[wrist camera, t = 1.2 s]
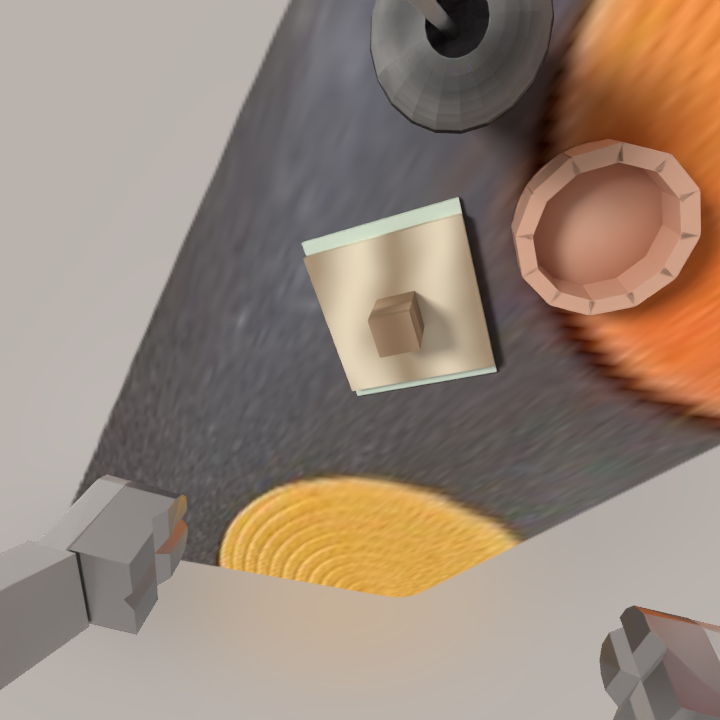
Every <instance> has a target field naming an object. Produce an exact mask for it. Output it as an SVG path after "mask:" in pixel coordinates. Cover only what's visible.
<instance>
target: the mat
mask: <svg viewBox="0 0 720 720" xmlns="http://www.w3.org/2000/svg"><path fill="white" fill-rule="evenodd" d="M461 212H462V210H461V205H460V201H459V197H456V198H453V199H449V200H446V201H442V202H439V203H435V204H432V205H428V206H425V207H422V208H418V209H415V210H411V211H408V212H404V213H401V214H398V215H394V216H391V217H387V218H384V219H380V220H377V221H373V222H370V223H367V224H363V225H360V226H356V227H353V228H349V229H346V230H343V231H339V232H336V233H332V234H329V235H325V236H322V237H319V238H315V239H312V240H308V241H305V242H303V243H302V245H303V248H304V251H305V254H306V256H307V255H311V254H314V253H318V252H321V251H325V250H329V249H332V248H336V247H339V246H343V245H346V244H350V243H354V242H357V241H361V240H364V239H368V238H371V237H375V236H379V235H382V234H386V233H389V232H393V231H396V230H400V229H403V228H407V227H411V226H414V225H418V224H421V223H425V222H428V221H432V220H436V219H439V218H443V217H446V216H450V215H453V214H457V213H461ZM462 216H463V214H462ZM463 220H464V219H463ZM464 225H465V224H464ZM465 229H466V228H465ZM466 234H467V233H466ZM467 238H468V237H467ZM468 243H469V242H468ZM469 248H470V246H469ZM470 252H471V251H470ZM471 257H472V256H471ZM472 261H473V260H472ZM473 266H474V265H473ZM474 270H475V269H474ZM475 275H476V274H475ZM476 280H477V278H476ZM477 284H478V283H477ZM478 289H479V287H478ZM479 293H480V292H479ZM480 298H481V297H480ZM481 302H482V301H481ZM482 307H483V306H482ZM483 311H484V310H483ZM484 316H485V315H484ZM485 321H486V319H485ZM486 325H487V324H486ZM487 330H488V329H487ZM488 334H489V333H488ZM489 339H490V338H489ZM490 343H491V342H490ZM491 348H492V347H491ZM492 353H493V351H492ZM493 357H494V356H493ZM494 362H495V361H494ZM492 372H497V370H496V365H495V366H491V367H486V368H480V369H475V370H469V371H463V372H458V373H452V374H446V375H441V376H435V377H429V378H424V379H418V380H413V381H407V382H401V383H396V384H390V385H384V386H379V387H373V388H367V389H362V390H356V392H357V395H358V396H360V395H366V394H371V393H377V392H383V391H389V390H394V389H400V388H406V387H412V386H417V385H423V384H429V383H435V382H440V381H446V380H452V379H458V378H464V377H469V376H475V375H481V374H487V373H492Z"/></svg>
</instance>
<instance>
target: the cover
mask: <svg viewBox="0 0 720 720" xmlns="http://www.w3.org/2000/svg"><path fill="white" fill-rule="evenodd" d="M304 262H305V265H306V267H307V270H308V273H309V276H310V278H311V281H312V284H313V286H314V289H315V292H316V294H317V297H318V300H319V302H320V305H321V308H322V311H323V313H324V316H325V319H326V321H327V324H328V327H329V329H330V332H331V335H332V337H333V340H334V343H335V346H336V348H337V351H338V354H339V356H340V359H341V362H342V364H343V367H344V370H345V373H346V375H347V378H348V381H349V383H350V386H351V389H352V391H356V390H362V389H367V388H373V387H379V386H384V385H390V384H396V383H401V382H407V381H413V380H418V379H424V378H429V377H435V376H441V375H446V374H452V373H458V372H463V371H469V370H475V369H480V368H486V367H491V366H495V362H494V357H493V353H492V348H491V343H490V339H489V334H488V330H487V325H486V321H485V316H484V311H483V307H482V302H481V298H480V293H479V289H478V284H477V280H476V275H475V270H474V266H473V261H472V257H471V252H470V248H469V243H468V238H467V234H466V229H465V225H464V220H463V216H462V212H461V213H457V214H453V215H450V216H446V217H443V218H439V219H436V220H432V221H428V222H425V223H421V224H418V225H414V226H411V227H407V228H403V229H400V230H396V231H393V232H389V233H386V234H382V235H379V236H375V237H371V238H368V239H364V240H361V241H357V242H354V243H350V244H346V245H343V246H339V247H336V248H332V249H329V250H325V251H321V252H318V253H314V254H311V255H307V256H306V257H305V258H304Z"/></svg>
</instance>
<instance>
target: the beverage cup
mask: <svg viewBox="0 0 720 720" xmlns="http://www.w3.org/2000/svg"><path fill="white" fill-rule="evenodd" d="M553 21H554V11H553V1H552V0H376V3H375V6H374V10H373V13H372V17H371V41H370V52H371V56H372V60H373V64H374V69H375V73H376V77H377V81H378V83H379V84H380V86H381V88H382V90H383V91H384V93H385V95H386V96H387V98H388V100H389V102H390V103H391V105H392V106H393V107H394V108H395V109H396V110H397V111H399V112H400V113H401V114H402V115H403V116H404V117H405V118H406V119H407V120H409V121H410V122H411V123H413V124H415V125H417V126H420V127H422V128H425V129H427V130H430V131H432V132H435V133H457V134H462V133H465V132H468V131H472V130H475V129H478V128H481V127H485V126H488V125H489V124H491V123H492V122H494V121H495V120H497V119H498V118H500V117H501V116H503V115H504V114H505V113H507V112H508V111H510V110H511V109H513V107H514V106H515V105H516V104H517V103H518V101H519V100H520V99H521V98H522V97H523V95H524V94H525V93H526V92H527V91H528V89H529V88H530V87H531V86H532V85H533V83H534V81H535V79H536V77H537V75H538V73H539V70H540V68H541V66H542V64H543V62H544V60H545V58H546V55H547V53H548V49H549V43H550V38H551V32H552V27H553Z"/></svg>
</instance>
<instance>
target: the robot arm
mask: <svg viewBox="0 0 720 720" xmlns="http://www.w3.org/2000/svg"><path fill="white" fill-rule="evenodd" d="M186 510H187V505H186V497H185V496H183V495H180V494H177V493H173V492H170V491H166V490H162V489H159V488H155V487H151V486H148V485H144V484H141V483H137V482H133V481H129V480H125V479H121V478H117V477H114V476H110V475H106V476H104V477H102V478H100V479H98V480H97V481H96V482H95V483H94V484H93V485H92V486H91V487H90V488H89V489H88V490H87V491H86V492H85V493H84V494H83V495H82V496H81V497H80V498H79V499H78V500H77V501H76V502H75V504H74V505H73V506H72V507H71V508H70V509H69V510H68V511H67V512H66V513H65V514H64V515H63V516H62V517H61V518H60V519H59V520H58V521H57V522H56V523H55V524H54V525H53V527H52V528H51V529H50V530H49V531H48V532H47V533H46V534H45V535H44V536H43V537H42V538H41V539H40V540H39V541H38V542H37V543H36V542H32V541H27V542H25V543H23V544H20V545H18V546H16V547H14V548H12V549H9V550H7V551H5V552H2V553H1V554H0V690H1V689H2V688H4V687H5V686H6V685H8V684H9V683H11V682H12V681H13V680H15V679H16V678H18V677H19V676H21V675H22V674H23V673H25V672H26V671H27V670H29V669H30V668H32V667H33V666H35V665H36V664H37V663H39V662H40V661H42V660H43V659H44V658H46V657H47V656H49V655H50V654H51V653H53V652H54V651H56V650H57V649H58V648H60V647H61V646H63V645H64V644H65V643H67V642H68V641H70V640H71V639H72V638H74V637H75V636H77V635H78V634H79V633H80V632H82V631H84V630H85V629H86V628H88V627H89V623H90V624H94V625H98V626H103V627H107V628H111V629H115V630H120V631H124V632H128V633H133V634H137V633H138V631H139V630H140V628H141V627H142V625H143V623H144V622H145V620H146V618H147V616H148V615H149V613H150V612H151V610H152V608H153V606H154V605H155V603H156V602H157V600H158V595H157V585H159V584H161V583H162V582H164V581H166V580H168V579H169V578H170V577H171V576H172V575H173V573H174V571H175V569H176V568H177V566H178V564H179V562H180V559H181V557H182V554H183V551H184V549H185V545H186V539H187V526H186V524H185V523H184V522H183V520H182V519H181V518H182V516H183V515H184V513H185V512H186ZM620 619H621V622H622V625H623V627H622V628H620V629H617V630H615V631H612V632H610V633H609V634H608V636H607V637H606V639H605V641H604V642H603V644H602V648H601V655H600V668H601V676H602V680H603V683H604V688H605V691H606V692H607V693H608V694H609V695H610V697H611V698H612V699H613V701H614V702H615V703H616V704H617V706H618V709H617V711H616V714H615V716H614V719H613V720H720V626H716V625H711V624H707V623H704V622H699V621H695V620H691V619H689V618H685V617H681V616H676V615H672V614H667V613H663V612H659V611H655V610H650V609H646V608H642V607H638V606H632V607H629V608H627V609H626V610H625V611H624V612H623V614H622V615H621V617H620Z"/></svg>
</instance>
